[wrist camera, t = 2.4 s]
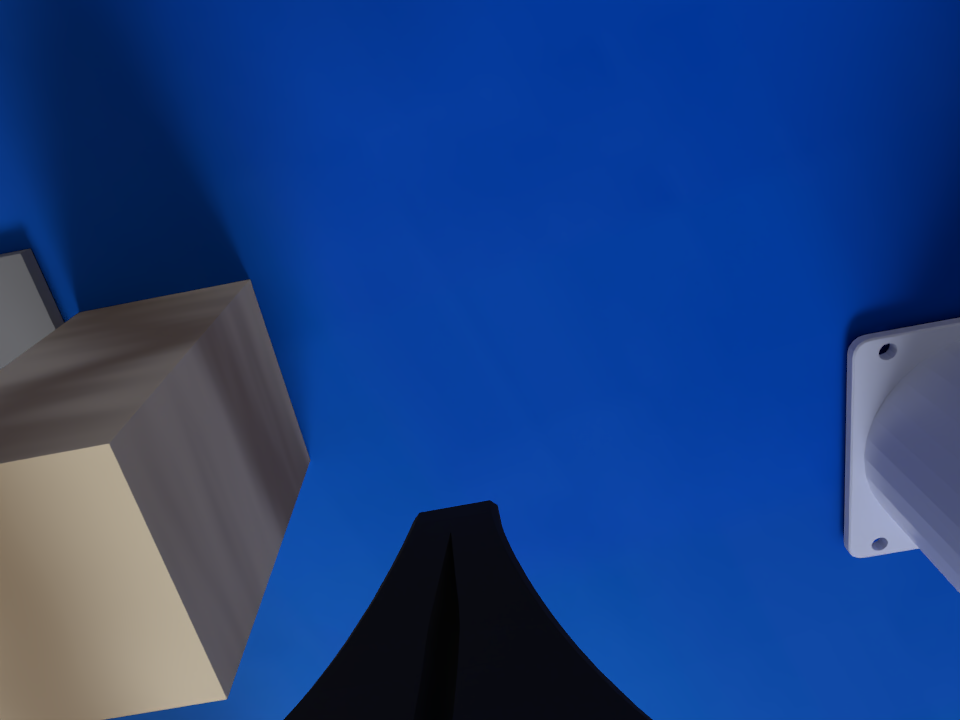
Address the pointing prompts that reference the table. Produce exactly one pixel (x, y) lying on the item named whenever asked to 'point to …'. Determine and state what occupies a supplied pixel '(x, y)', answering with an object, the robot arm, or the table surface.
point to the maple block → (140, 504)
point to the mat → (24, 305)
